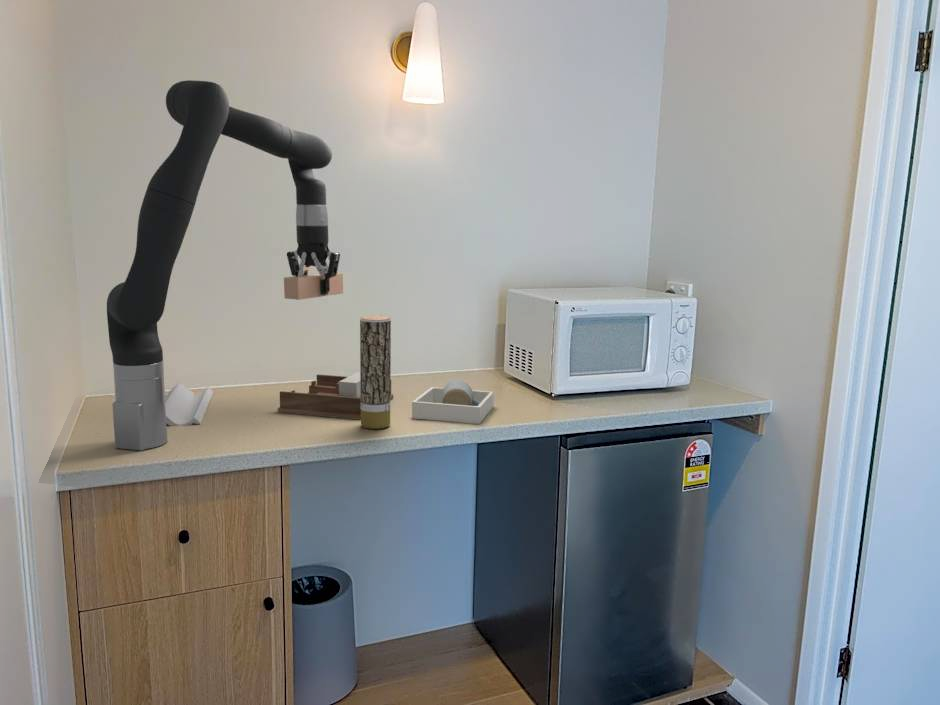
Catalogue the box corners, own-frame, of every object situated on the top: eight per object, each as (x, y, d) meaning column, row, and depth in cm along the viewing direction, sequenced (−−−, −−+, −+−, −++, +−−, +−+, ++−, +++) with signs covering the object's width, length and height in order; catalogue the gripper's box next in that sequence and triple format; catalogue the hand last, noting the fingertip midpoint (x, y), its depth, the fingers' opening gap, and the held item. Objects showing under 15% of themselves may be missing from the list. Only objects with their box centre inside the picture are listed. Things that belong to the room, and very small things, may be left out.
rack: (362, 419, 171) (362, 398, 170) (277, 411, 176) (277, 391, 175) (393, 398, 192) (393, 379, 191) (316, 392, 197) (316, 374, 196)
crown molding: (200, 427, 164) (199, 412, 163) (143, 430, 161) (142, 414, 160) (212, 395, 194) (212, 381, 193) (165, 396, 191) (164, 383, 190)
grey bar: (356, 403, 174) (356, 382, 173) (339, 401, 175) (338, 381, 174) (379, 388, 189) (379, 370, 188) (363, 387, 190) (363, 369, 189)
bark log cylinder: (362, 430, 162) (362, 320, 157) (358, 422, 168) (358, 316, 164) (392, 429, 163) (393, 319, 159) (387, 421, 170) (387, 315, 165)
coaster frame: (479, 423, 169) (480, 407, 169) (411, 418, 173) (412, 401, 172) (493, 406, 185) (493, 391, 185) (431, 401, 189) (431, 387, 188)
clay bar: (329, 292, 186) (329, 272, 185) (343, 293, 184) (342, 273, 183) (284, 298, 172) (283, 277, 171) (298, 299, 170) (297, 278, 169)
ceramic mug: (441, 416, 175) (442, 386, 173) (442, 408, 183) (443, 378, 181) (484, 418, 175) (486, 387, 174) (483, 409, 183) (485, 380, 182)
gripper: (346, 224, 176) (347, 293, 179) (295, 223, 180) (298, 291, 184) (330, 224, 169) (332, 297, 172) (277, 223, 173) (280, 294, 177)
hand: (314, 293), depth 178 cm, fingers closed on clay bar, 5 cm apart
